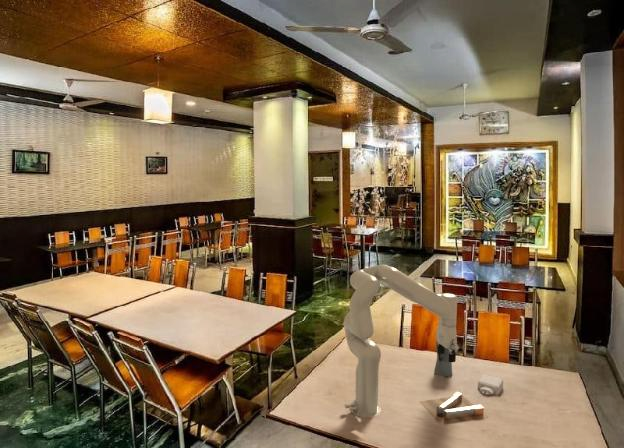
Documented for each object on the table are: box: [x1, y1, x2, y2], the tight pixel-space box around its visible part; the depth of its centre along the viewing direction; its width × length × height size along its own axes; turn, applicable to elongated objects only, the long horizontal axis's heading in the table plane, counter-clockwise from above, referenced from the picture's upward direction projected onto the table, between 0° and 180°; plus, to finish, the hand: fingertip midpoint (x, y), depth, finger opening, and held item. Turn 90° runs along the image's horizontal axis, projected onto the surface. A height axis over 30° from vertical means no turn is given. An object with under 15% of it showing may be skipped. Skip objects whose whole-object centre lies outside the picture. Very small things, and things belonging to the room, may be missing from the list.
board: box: [418, 395, 489, 425], centre depth 178 cm, size 22×18×1 cm
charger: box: [477, 374, 504, 396], centre depth 195 cm, size 5×9×15 cm
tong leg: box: [436, 391, 463, 417], centre depth 179 cm, size 19×3×3 cm, turn 134°
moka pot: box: [433, 339, 453, 378], centre depth 211 cm, size 10×15×20 cm, turn 148°
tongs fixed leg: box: [444, 404, 485, 419], centre depth 172 cm, size 17×2×3 cm, turn 104°
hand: (446, 357), depth 189 cm, fingers open, 8 cm apart
